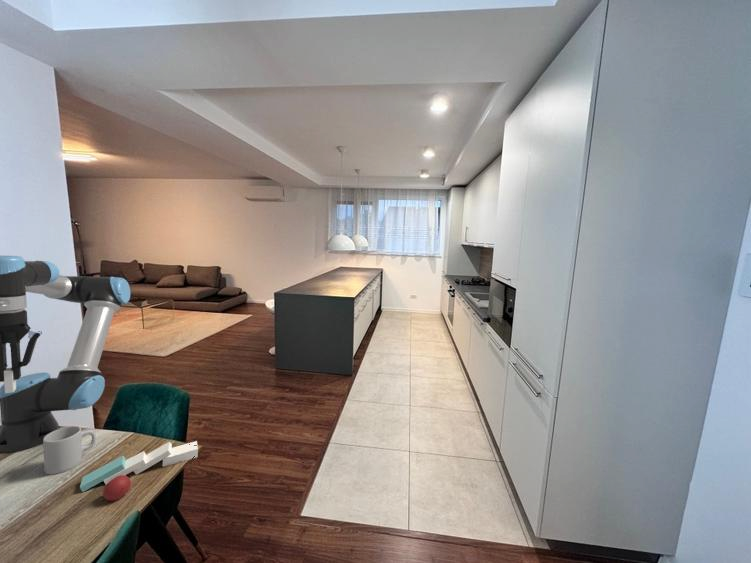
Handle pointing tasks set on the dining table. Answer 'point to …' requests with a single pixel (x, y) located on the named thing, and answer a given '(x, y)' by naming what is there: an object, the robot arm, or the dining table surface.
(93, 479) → the domino
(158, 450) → the domino
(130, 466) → the domino
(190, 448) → the domino
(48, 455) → the mug
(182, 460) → the domino
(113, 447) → the dining table surface
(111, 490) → the fruit
